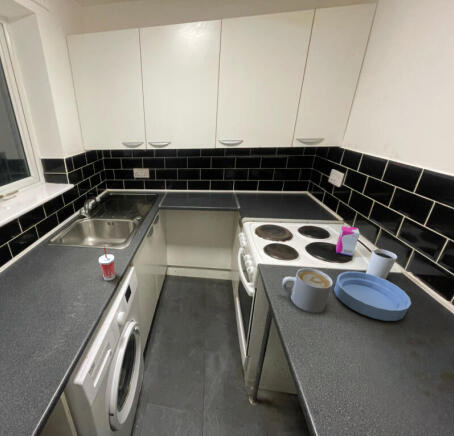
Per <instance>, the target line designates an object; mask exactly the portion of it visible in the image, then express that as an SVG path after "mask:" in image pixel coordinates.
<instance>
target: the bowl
mask: <svg viewBox="0 0 454 436" xmlns="http://www.w3.org/2000/svg"><path fill="white" fill-rule="evenodd" d="M333 286H334V287H333V292H334V294H335V296H336V297H337V298H338V300H340V302H342V304H344V305H346V306H347V307H348V308H350V309H352V310H353V311H355V312H357V313H359V314H361V315H363V316H366V317H369V318H371V319H376V320H380V321H385V322H397V321H400V320H402V319H404V317H405V316H406V315H407V313H408V311H409V309H410V307H411V305H412V302H411V298H410V296H409V294H407V292H406V291H404V290H403V289H402V288H400V287H399V286H398V285H396V284H394V283H393V282H391V281H390V280H388V279H386V280H385V279H382V278H380V277H378V276H375V275H371V274H367V273H366V272H363V271H344V272H341V273H339V274H338V276H337V278H336V280H335V283H334V285H333Z"/></svg>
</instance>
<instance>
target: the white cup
mask: <svg viewBox="0 0 454 436" xmlns="http://www.w3.org/2000/svg"><path fill="white" fill-rule="evenodd" d="M397 259H398V255H396V253H394V252H392V251H389V250H386V249H383V248H374V249H373V250H372V252H371V255H370V259H369V262H368V264H367V267H366V271H365V273H367V274H371V275H375V276H378V277H380V278H382V279H385V280H387V278H388V276H389V274H390V273H391V270H392V269H393V267H394V266H395V265H394V264H395V263H396V260H397Z"/></svg>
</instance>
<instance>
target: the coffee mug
mask: <svg viewBox="0 0 454 436" xmlns="http://www.w3.org/2000/svg"><path fill="white" fill-rule="evenodd" d="M288 283H292V286H290V287H289V286H287V284H288ZM333 283H334V282H333V280H332V278H331V277H330V276H329V275H328V274H326V273H325V272H323V271H321V270H318V269H314V268H309V267H303V268H300V269H298V270H297V271H296V274H295V276H285V277H284V278H283V279H282V282H281V288H282V289H283V291H285V292H286V293H288V294H289V295H290V299H291V301H292V303H293V304H294V305H295V306H296V307H298V308H299V309H301V310H302V311H305V312H308V313H313V314H314V313H315V314H316V313H322V312H323V311H325V309H326V306H327V303H328V299H329V296H330V293H331V290H332V287H333Z"/></svg>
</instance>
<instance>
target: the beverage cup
mask: <svg viewBox="0 0 454 436" xmlns="http://www.w3.org/2000/svg"><path fill="white" fill-rule="evenodd" d="M103 251H104V255H101V256H100V257H99V258H98V263H99V265H100V269H101V272H102V277H103V279H104V281H106V282H107V281H112V280H114V279H115V278H116V269H115V267H116V266H115V256H114V255H113V254H110V253H109V254H108V253H107V250H106V247H103Z"/></svg>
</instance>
